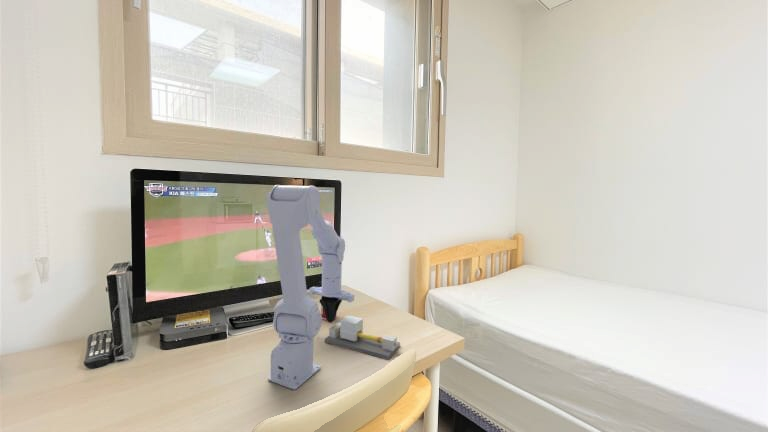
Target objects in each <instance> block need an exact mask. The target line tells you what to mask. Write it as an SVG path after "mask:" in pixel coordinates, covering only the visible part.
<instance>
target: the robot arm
mask: <svg viewBox="0 0 768 432" xmlns="http://www.w3.org/2000/svg"><path fill="white" fill-rule="evenodd" d="M266 203H267V204H266V205H267V210H268V216H269V224H271V225H272V226H271V227H272V234H273V242H274V247H275V254H276V261H277V265H278V267H277V269H278V273H279V280H280V286H281V294H282V298H281V299H280V300H278V301H277V303H276V304H275V305H274V307H273V321H272V325H273V329H274V332H276V333H277V334H278V339H280V341H279V343H278V344H277V345H276V346H275V347H274V348H273V349H272V350H271V352H270V375H269V376H268V377H267V380H268V381H270V382H273V383H276V384H277V385H280V386H283V387H286V388H289V389H291V390H297V389H299V387H300V386H301V385H302V384H304V383H305V382H306V381H307V380H308V379H310V378H311V377H312V376H314V374H315V373H317V372H318V371H319V370H320V369H321V368H322V366H321V365H320V364H316V363H314V338H315V337H316V336H317V335H318V334H319V333H320V330H321V327H322V322H323V319H322V316H321V311H320V309H319V304H318V301H316V300H315V299H314V298H312V295H314V296H320V297H321V296H322V299H321V298H320V299H319V303H320V305H322V307H323V309H324V311H325V315H326V318H327V320H326V322H327V323H330V324H331V323H334V321H335V320H336V318H337V316H336V313H337V312H338V310H339V307H340V305H341V303H342V301H347V303H352V302H354V301H355V293H351V292H348V291H345V290H343V289H342V274H343V273H342V270H343V269H342V268H343V266H342V263H343V261H344V259H345V258H344V255H345V251H346V241H345V239H344V238H343V237H342V236H339V235H338V234H337V232H336V230H335V228H334V227H333V225H332V223H331V222H330V221H328V220H325V218H324V216H323V213H322V211H321V209H320V206H321V195H320V191H319V189H318V188H317V186H315V185H281V184H275V185H273V187H272V188H271V189H270V191H269V193H268V195H267V198H266ZM307 226H311V235H312V236H313V238H314V239H315V241H316V243H317V247H318V253H319V254H320V256H321V286H320V287H319V286H312V287H309V294H308V291H307V290H308V289H307V284H306V283H307V282H306V273H305V267H304V266H305V265H304V259H303V258H304V257H303V249H302V242H301V235H300V231H301V230H302V229H303V228H305V227H307ZM337 314H338V313H337ZM335 317H336V318H335Z"/></svg>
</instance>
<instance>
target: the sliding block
mask: <svg viewBox="0 0 768 432" xmlns="http://www.w3.org/2000/svg"><path fill="white" fill-rule="evenodd" d="M363 320H364V318H362V317H357V316H352V315H346V316H345V317H344V318H342V319H341V320H340V323H341V330H340V338H343V339H347V340H351V341H355V342H356V341H357V332H359V333H363V332H364V331H363V329H364V326H363V323H364V321H363Z"/></svg>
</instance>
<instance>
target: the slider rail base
mask: <svg viewBox="0 0 768 432" xmlns="http://www.w3.org/2000/svg"><path fill="white" fill-rule="evenodd" d="M340 330H341V321H340V322H337V323H335V324H334V325H333V326H331V327H329V330H328V333H329V334H328V335H327V337H325V338H324V343H327V344H330V345H334V346H338V347H341V348H344V349H348V350H352V351H355V352H360V353H363V354H366V355H370V356H374V357H377V358H380V359H381V358H382V359H385V360H388V361H389V360H390V359H391V358H392V356H393V355H394V354H395V352H396V351H397V350H398V349H399V348H400V347H401V343H400V342H399V341H398V336H395V335H391V334H386V335H384V337H381V336H376V335H371V334H367V333H359V332H357V341H356V342H355V341H351V340H347V339H343V338H340Z"/></svg>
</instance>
